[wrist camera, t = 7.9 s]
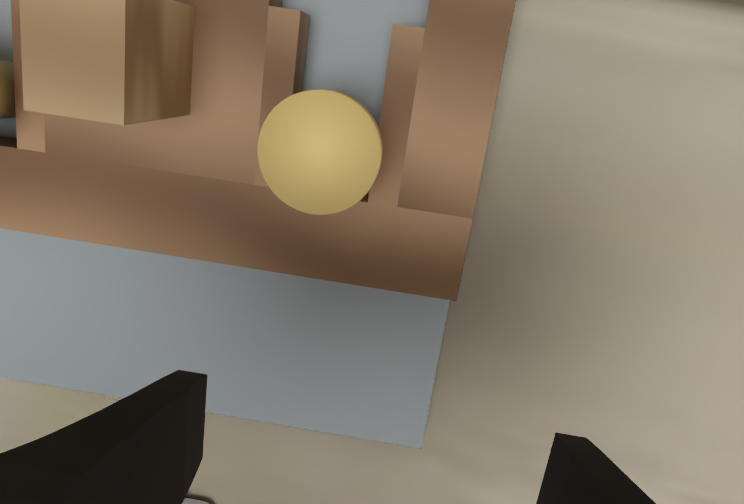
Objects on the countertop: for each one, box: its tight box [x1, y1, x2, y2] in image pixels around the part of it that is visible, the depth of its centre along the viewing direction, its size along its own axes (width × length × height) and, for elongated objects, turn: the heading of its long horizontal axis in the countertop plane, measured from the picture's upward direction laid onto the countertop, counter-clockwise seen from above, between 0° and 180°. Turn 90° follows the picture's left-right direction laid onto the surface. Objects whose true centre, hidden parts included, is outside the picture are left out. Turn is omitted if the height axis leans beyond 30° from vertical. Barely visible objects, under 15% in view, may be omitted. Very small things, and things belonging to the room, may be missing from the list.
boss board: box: [0, 0, 450, 449], centre depth 18 cm, size 22×20×5 cm
